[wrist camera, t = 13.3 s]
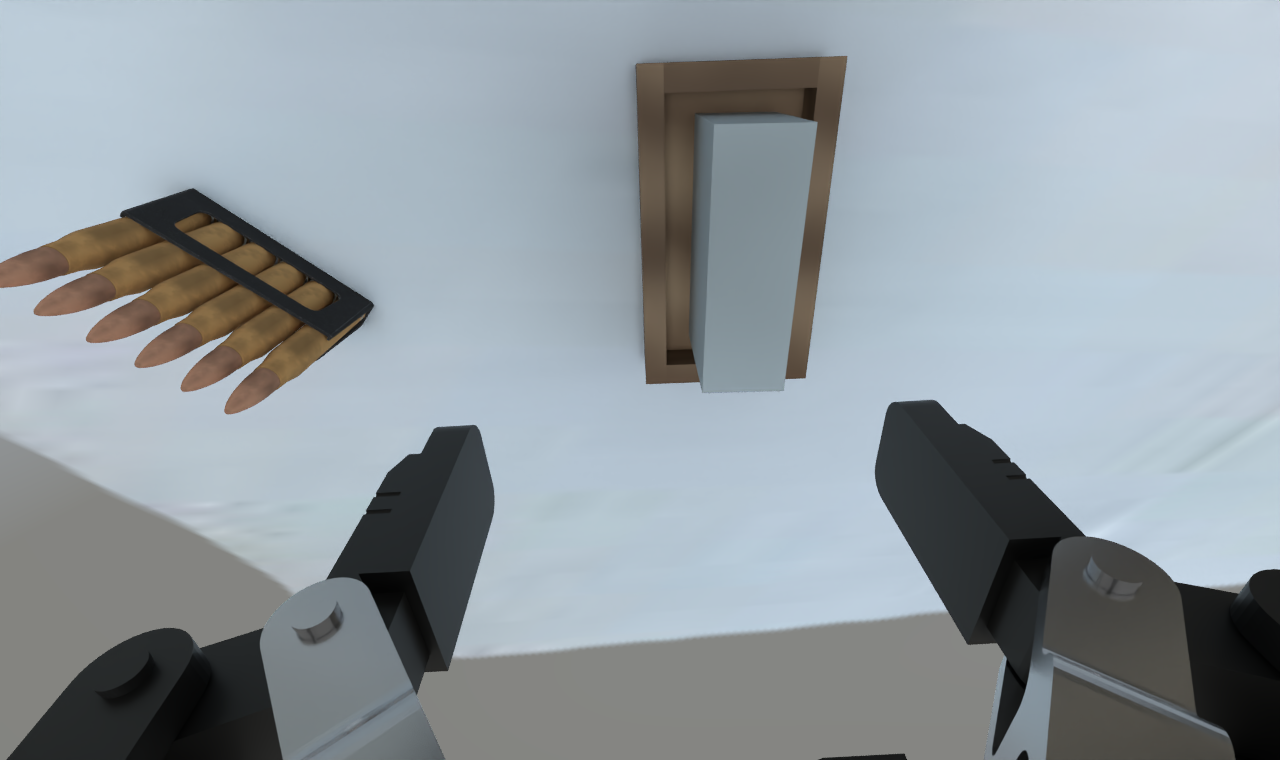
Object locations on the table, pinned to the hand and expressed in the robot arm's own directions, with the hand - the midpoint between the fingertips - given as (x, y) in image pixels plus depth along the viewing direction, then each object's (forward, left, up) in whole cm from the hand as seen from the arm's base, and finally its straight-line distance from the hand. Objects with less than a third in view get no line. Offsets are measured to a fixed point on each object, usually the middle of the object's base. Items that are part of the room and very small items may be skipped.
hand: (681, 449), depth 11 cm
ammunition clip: (+2, -21, -23) cm, 31 cm away
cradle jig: (+1, +4, -23) cm, 23 cm away
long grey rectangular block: (+1, +4, -21) cm, 22 cm away
